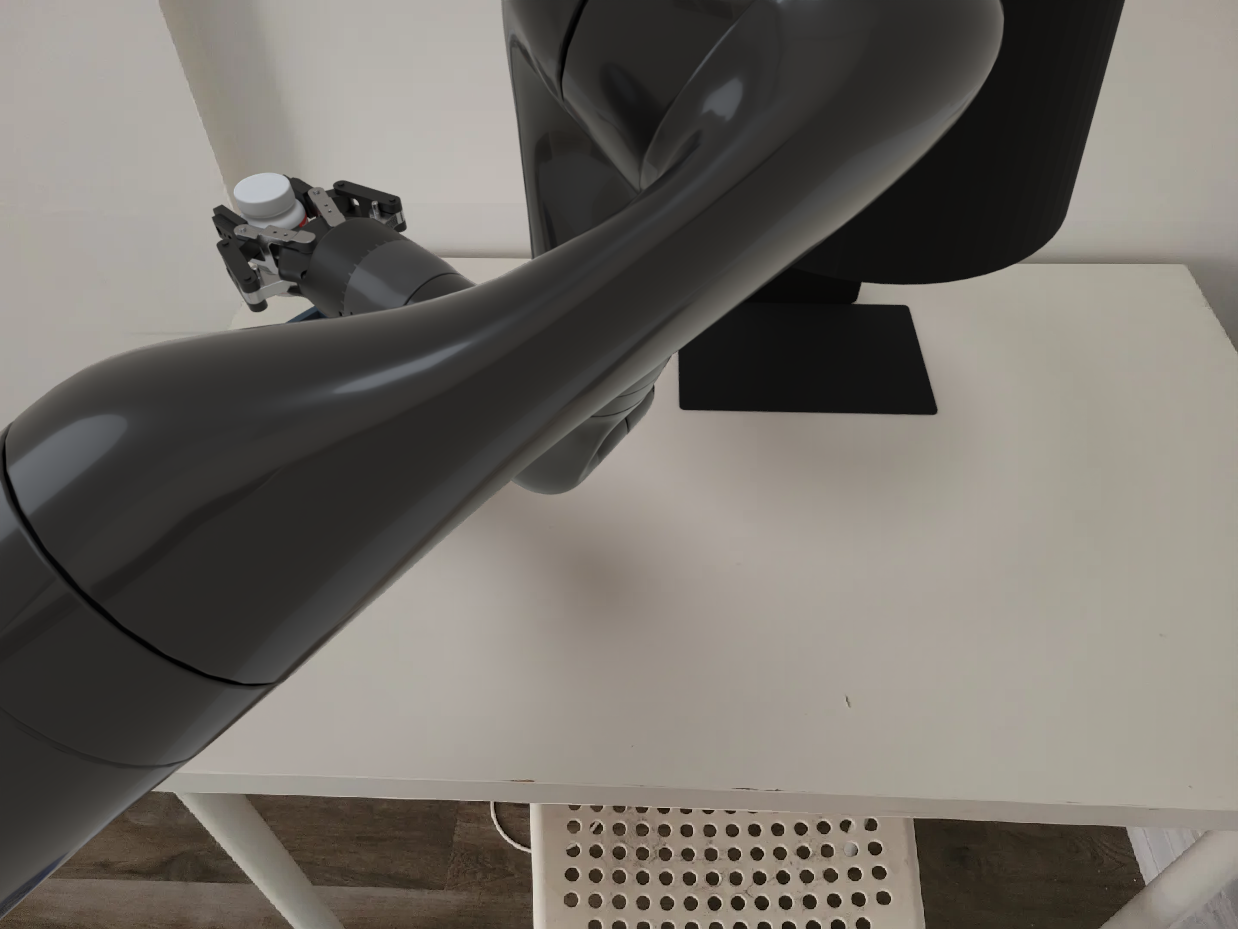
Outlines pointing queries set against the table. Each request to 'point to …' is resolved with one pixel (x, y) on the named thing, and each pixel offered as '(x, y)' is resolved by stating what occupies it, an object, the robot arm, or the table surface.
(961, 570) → the table surface
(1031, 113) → the table lamp
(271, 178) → the pill bottle
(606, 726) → the table surface
